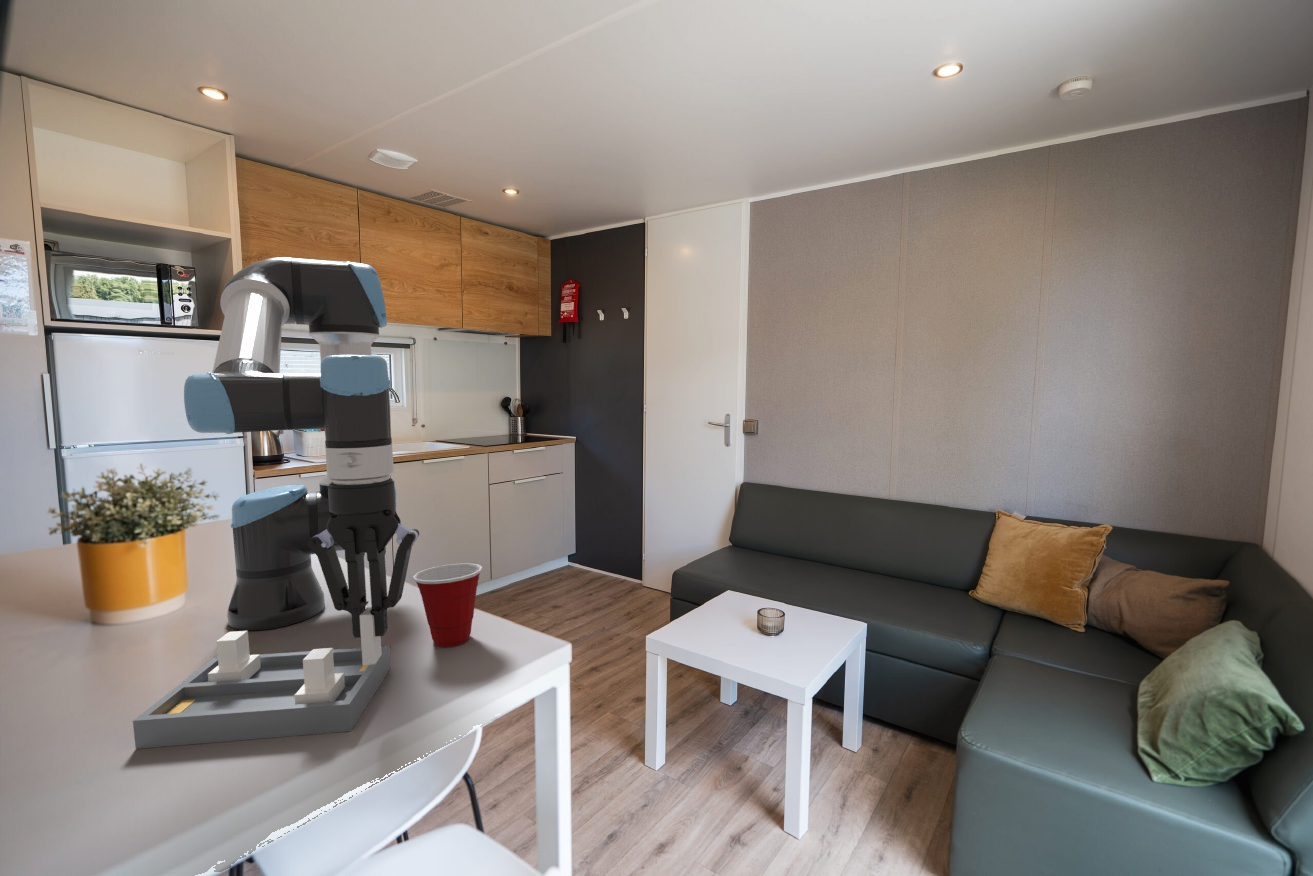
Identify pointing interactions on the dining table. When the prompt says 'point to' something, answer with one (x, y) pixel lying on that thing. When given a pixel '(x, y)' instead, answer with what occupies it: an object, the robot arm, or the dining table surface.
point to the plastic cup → (449, 601)
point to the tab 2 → (320, 678)
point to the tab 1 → (234, 658)
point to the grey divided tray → (259, 703)
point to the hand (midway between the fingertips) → (372, 659)
